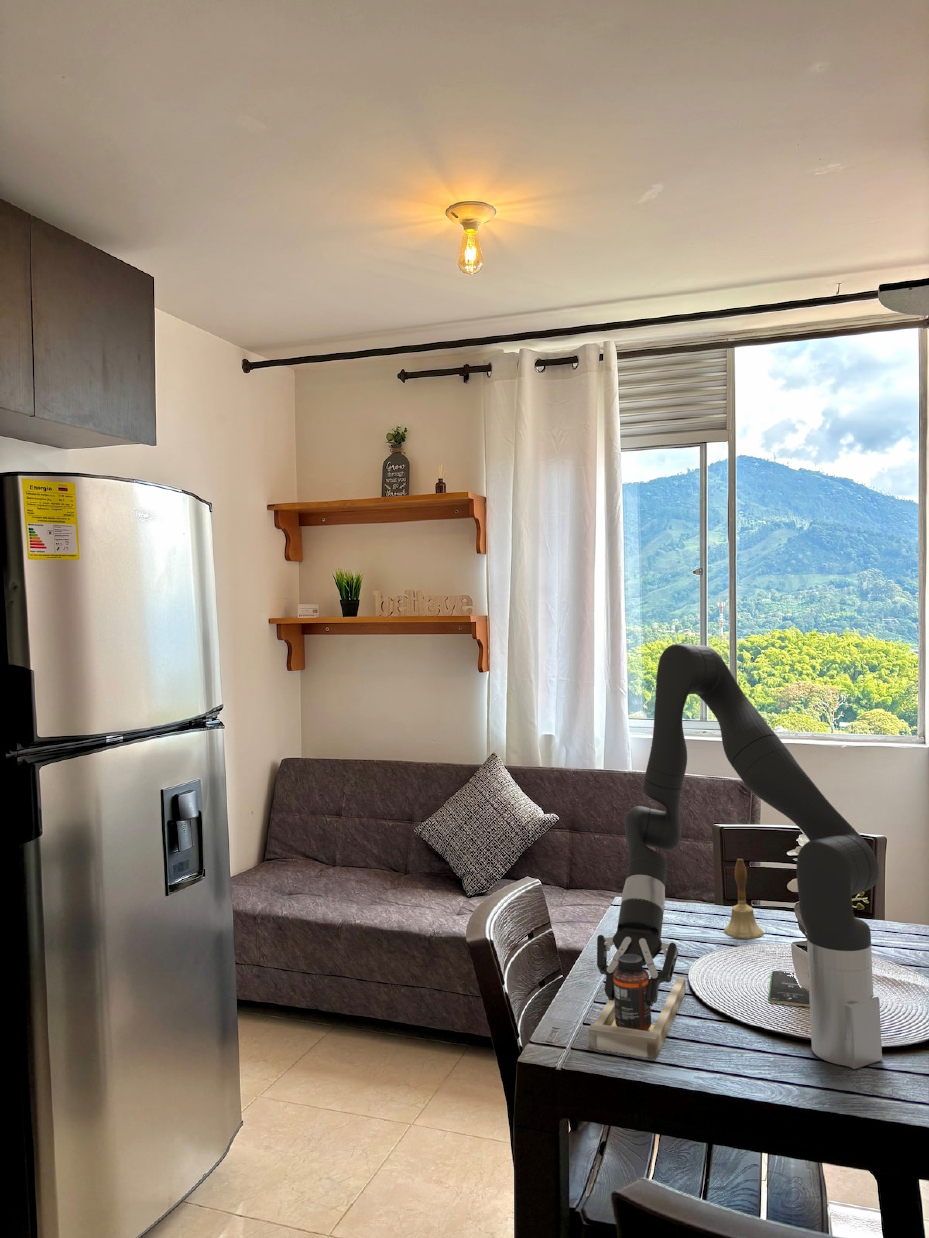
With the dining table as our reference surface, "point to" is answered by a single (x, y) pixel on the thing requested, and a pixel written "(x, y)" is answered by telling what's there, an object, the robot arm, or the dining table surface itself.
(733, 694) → the robot arm
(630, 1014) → the supplement bottle
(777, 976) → the small black book
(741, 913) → the hand bell
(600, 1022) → the open wooden tray frame
